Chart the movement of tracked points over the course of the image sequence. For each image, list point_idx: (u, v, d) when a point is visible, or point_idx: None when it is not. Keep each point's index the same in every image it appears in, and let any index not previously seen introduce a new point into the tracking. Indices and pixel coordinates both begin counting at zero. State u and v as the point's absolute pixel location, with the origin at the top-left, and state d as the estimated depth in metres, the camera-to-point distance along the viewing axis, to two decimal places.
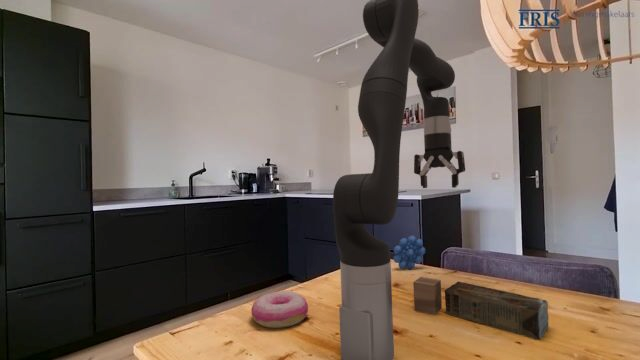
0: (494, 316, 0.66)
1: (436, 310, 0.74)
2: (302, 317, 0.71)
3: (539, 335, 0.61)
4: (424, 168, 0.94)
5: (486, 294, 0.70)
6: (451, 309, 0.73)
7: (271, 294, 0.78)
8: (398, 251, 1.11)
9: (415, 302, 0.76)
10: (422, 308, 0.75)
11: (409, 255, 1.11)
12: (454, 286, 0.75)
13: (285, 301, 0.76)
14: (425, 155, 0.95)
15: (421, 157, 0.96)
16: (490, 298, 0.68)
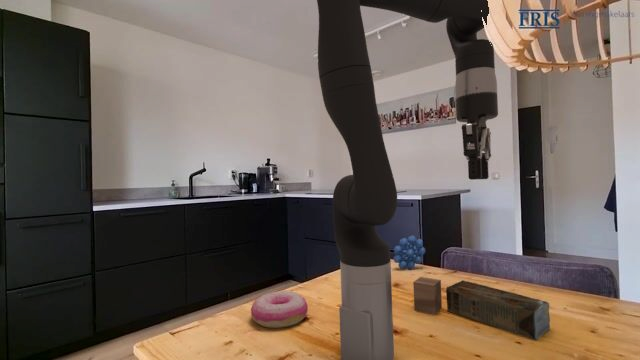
0: (492, 315, 0.67)
1: (436, 310, 0.74)
2: (302, 317, 0.71)
3: (535, 336, 0.61)
4: (483, 146, 0.60)
5: (486, 293, 0.70)
6: (452, 307, 0.74)
7: (271, 294, 0.78)
8: (398, 251, 1.11)
9: (415, 302, 0.76)
10: (422, 308, 0.75)
11: (409, 255, 1.11)
12: (456, 284, 0.76)
13: (285, 301, 0.76)
14: (479, 124, 0.60)
15: None
16: (489, 297, 0.68)
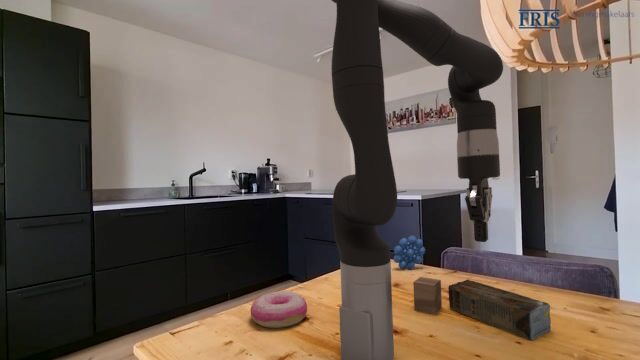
0: (490, 314, 0.67)
1: (436, 310, 0.74)
2: (301, 317, 0.71)
3: (531, 336, 0.61)
4: (488, 209, 0.61)
5: (487, 292, 0.71)
6: (453, 305, 0.75)
7: (270, 294, 0.78)
8: (398, 251, 1.11)
9: (415, 302, 0.76)
10: (422, 308, 0.75)
11: (409, 255, 1.11)
12: (459, 283, 0.77)
13: (284, 301, 0.76)
14: (481, 188, 0.59)
15: (476, 195, 0.59)
16: (488, 296, 0.69)
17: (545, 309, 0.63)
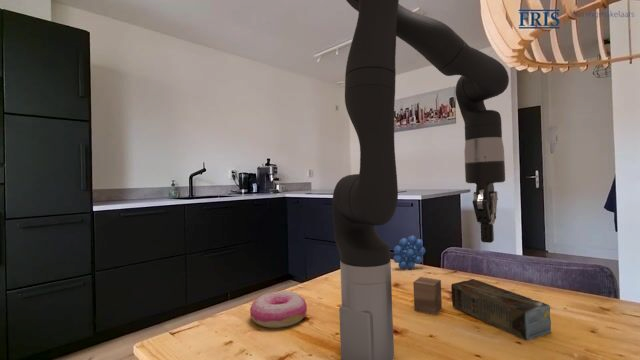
0: (489, 313, 0.68)
1: (436, 310, 0.74)
2: (301, 317, 0.71)
3: (526, 336, 0.61)
4: (494, 212, 0.65)
5: (487, 292, 0.71)
6: (456, 303, 0.76)
7: (270, 294, 0.78)
8: (398, 251, 1.11)
9: (415, 302, 0.76)
10: (422, 308, 0.75)
11: (409, 255, 1.11)
12: (463, 282, 0.78)
13: (284, 301, 0.76)
14: (487, 192, 0.64)
15: (483, 199, 0.63)
16: (488, 296, 0.69)
17: (544, 310, 0.63)
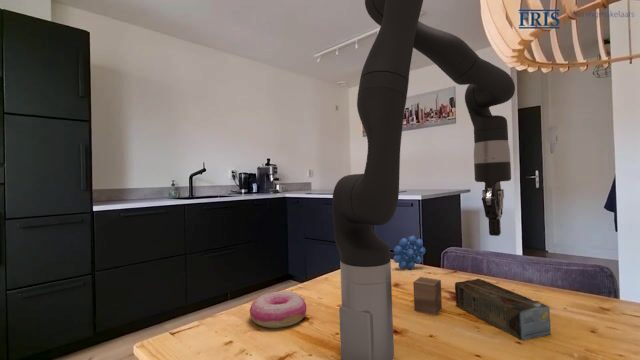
0: (488, 312, 0.68)
1: (436, 310, 0.74)
2: (301, 317, 0.71)
3: (521, 336, 0.61)
4: (501, 208, 0.72)
5: (488, 291, 0.71)
6: (459, 301, 0.77)
7: (270, 294, 0.78)
8: (398, 251, 1.11)
9: (415, 302, 0.76)
10: (422, 308, 0.75)
11: (409, 255, 1.11)
12: (467, 281, 0.78)
13: (283, 302, 0.76)
14: (495, 190, 0.70)
15: (491, 196, 0.70)
16: (488, 295, 0.70)
17: (542, 311, 0.62)
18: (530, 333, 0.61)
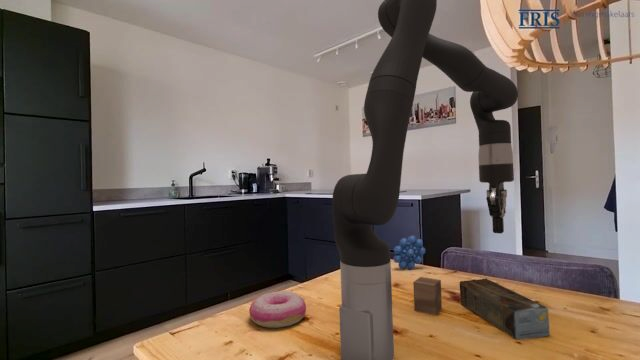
0: (487, 311, 0.69)
1: (436, 310, 0.74)
2: (300, 317, 0.71)
3: (516, 335, 0.61)
4: (504, 207, 0.76)
5: (490, 291, 0.72)
6: (463, 300, 0.78)
7: (269, 294, 0.78)
8: (398, 251, 1.11)
9: (415, 302, 0.76)
10: (422, 308, 0.75)
11: (409, 255, 1.11)
12: (472, 280, 0.79)
13: (283, 302, 0.76)
14: (499, 190, 0.75)
15: (495, 196, 0.74)
16: (488, 294, 0.70)
17: (539, 312, 0.62)
18: (526, 333, 0.62)
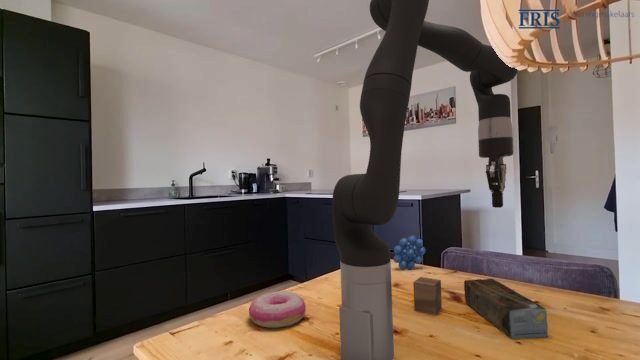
0: (486, 310, 0.69)
1: (436, 310, 0.74)
2: (300, 317, 0.71)
3: (511, 334, 0.62)
4: (503, 181, 0.76)
5: (492, 290, 0.72)
6: (467, 299, 0.79)
7: (269, 294, 0.78)
8: (398, 251, 1.11)
9: (415, 302, 0.76)
10: (422, 308, 0.75)
11: (409, 255, 1.11)
12: (476, 280, 0.79)
13: (283, 302, 0.76)
14: (498, 163, 0.75)
15: (495, 169, 0.75)
16: (488, 293, 0.71)
17: (537, 313, 0.62)
18: (522, 333, 0.62)
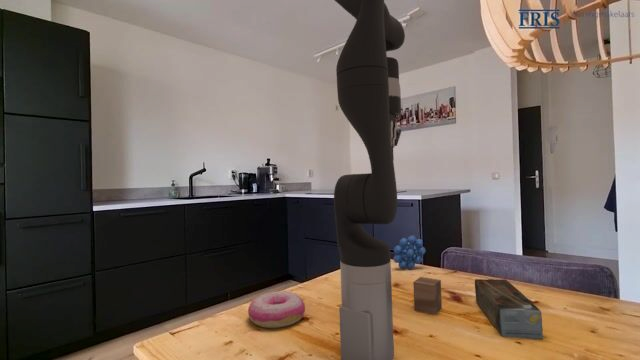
0: (487, 308, 0.70)
1: (436, 310, 0.74)
2: (299, 317, 0.71)
3: (502, 332, 0.63)
4: (391, 137, 0.83)
5: (495, 290, 0.72)
6: (476, 298, 0.79)
7: (268, 294, 0.78)
8: (398, 251, 1.11)
9: (415, 302, 0.76)
10: (422, 308, 0.75)
11: (409, 255, 1.11)
12: None
13: (282, 302, 0.76)
14: None
15: None
16: (490, 292, 0.71)
17: (530, 313, 0.61)
18: (513, 332, 0.62)
